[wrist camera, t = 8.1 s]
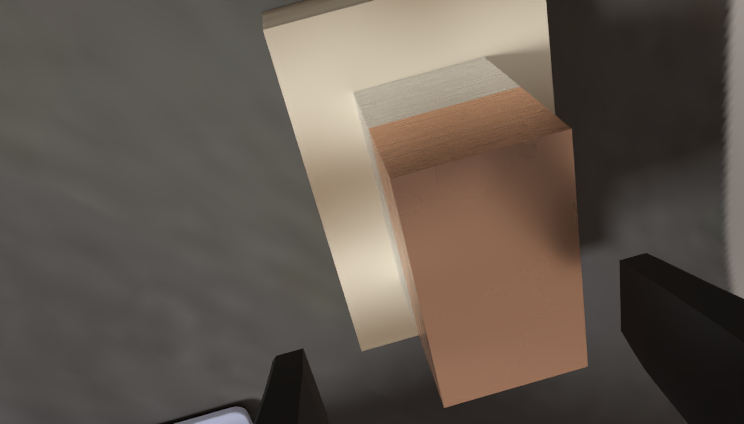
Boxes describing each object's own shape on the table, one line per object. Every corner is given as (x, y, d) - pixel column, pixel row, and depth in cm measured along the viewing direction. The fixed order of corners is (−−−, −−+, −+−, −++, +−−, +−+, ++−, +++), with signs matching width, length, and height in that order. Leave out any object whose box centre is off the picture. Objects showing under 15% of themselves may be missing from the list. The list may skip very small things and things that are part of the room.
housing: (352, 91, 18) (390, 178, 13) (483, 56, 19) (572, 128, 13) (399, 280, 22) (444, 408, 17) (509, 249, 22) (588, 366, 17)
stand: (542, 256, 26) (569, 292, 23) (352, 310, 25) (361, 351, 23) (511, -54, 20) (542, -45, 17) (262, 12, 19) (262, 30, 17)
